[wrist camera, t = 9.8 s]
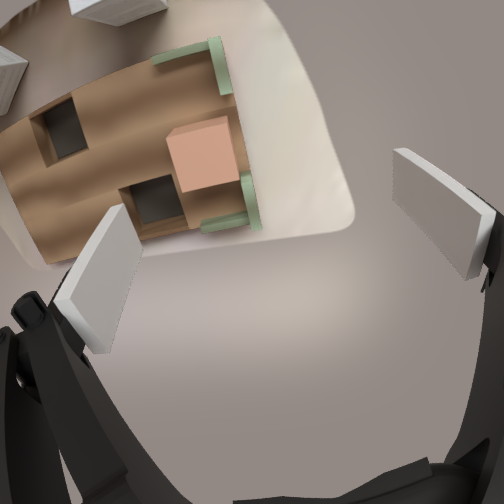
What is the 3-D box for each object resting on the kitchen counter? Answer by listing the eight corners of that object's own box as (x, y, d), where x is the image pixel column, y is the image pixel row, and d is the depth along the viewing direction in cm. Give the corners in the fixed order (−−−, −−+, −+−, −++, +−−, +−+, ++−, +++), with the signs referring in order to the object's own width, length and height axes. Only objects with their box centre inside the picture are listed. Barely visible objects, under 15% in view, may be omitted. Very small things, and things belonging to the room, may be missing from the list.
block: (174, 128, 26) (165, 138, 23) (226, 115, 26) (226, 123, 22) (187, 176, 29) (182, 192, 25) (238, 165, 28) (239, 179, 25)
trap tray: (3, 133, 25) (-26, 148, 20) (221, 42, 24) (219, 36, 19) (55, 251, 36) (37, 279, 31) (257, 202, 34) (262, 229, 29)
